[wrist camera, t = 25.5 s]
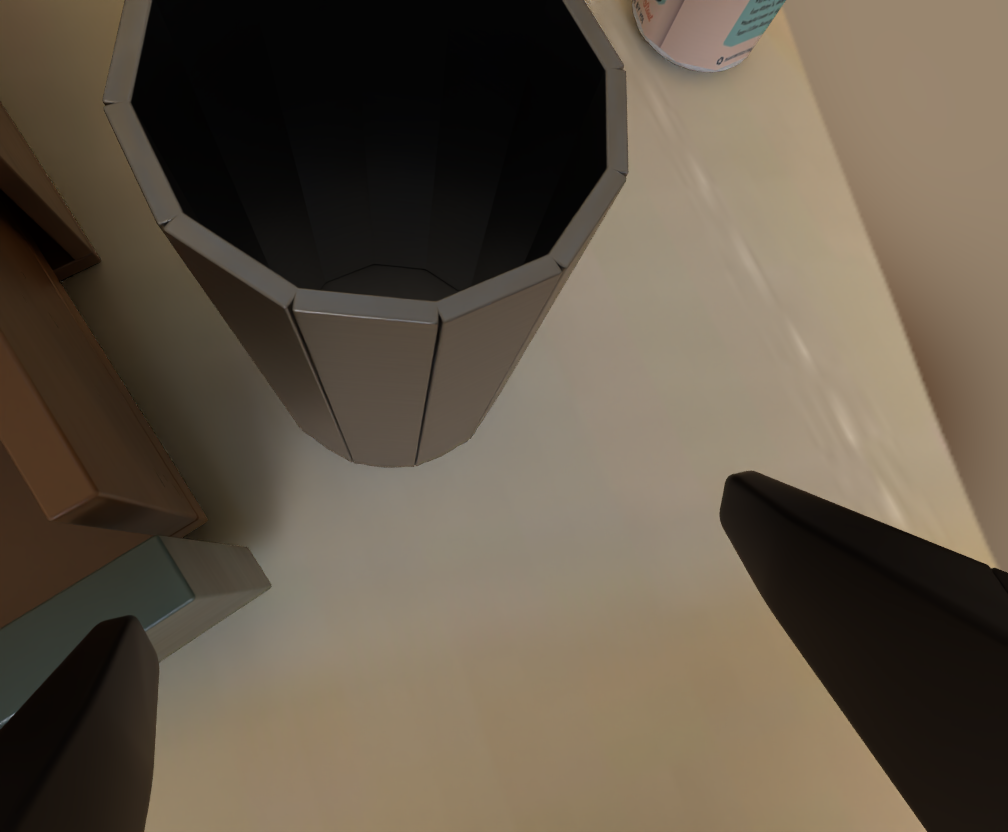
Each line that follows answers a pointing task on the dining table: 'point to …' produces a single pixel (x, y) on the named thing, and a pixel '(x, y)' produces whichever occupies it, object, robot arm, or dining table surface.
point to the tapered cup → (375, 191)
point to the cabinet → (41, 205)
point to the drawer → (88, 494)
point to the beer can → (704, 29)
